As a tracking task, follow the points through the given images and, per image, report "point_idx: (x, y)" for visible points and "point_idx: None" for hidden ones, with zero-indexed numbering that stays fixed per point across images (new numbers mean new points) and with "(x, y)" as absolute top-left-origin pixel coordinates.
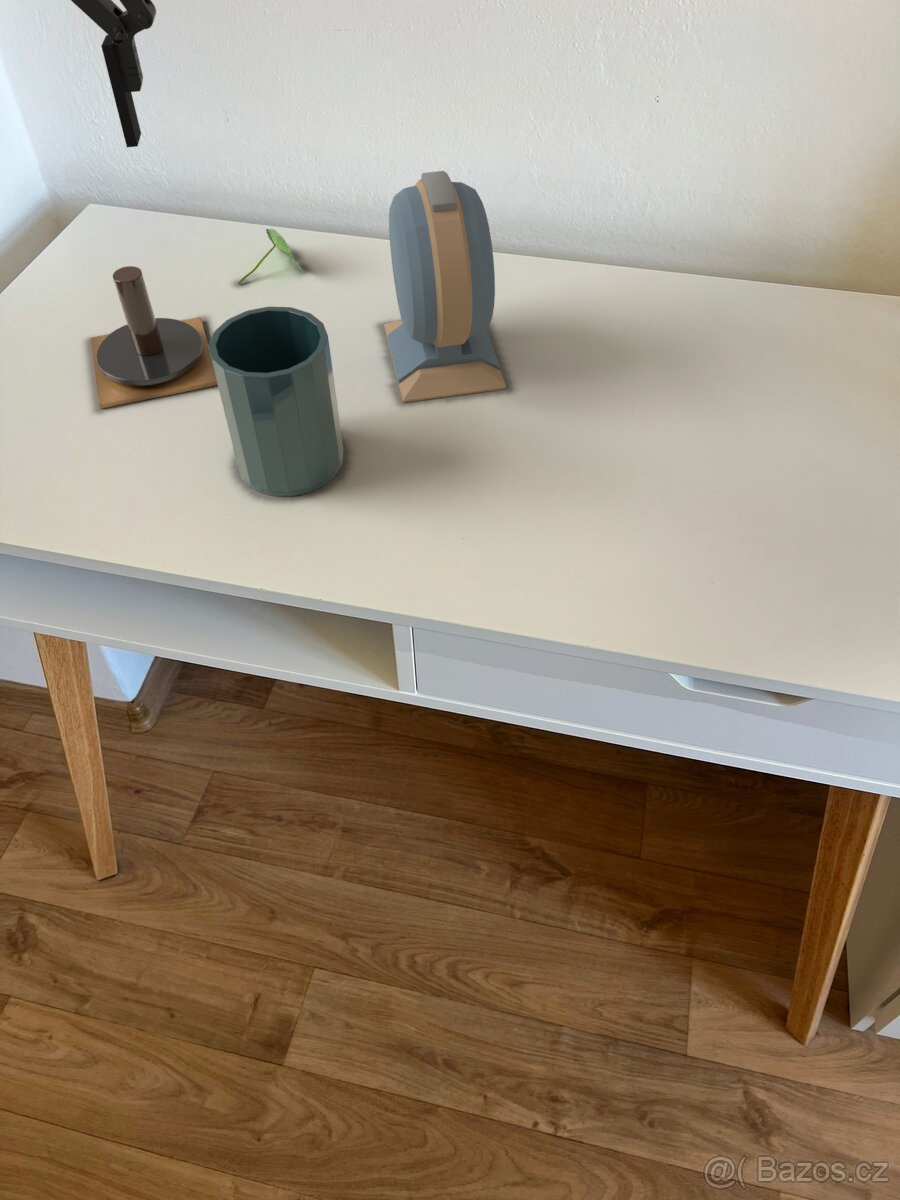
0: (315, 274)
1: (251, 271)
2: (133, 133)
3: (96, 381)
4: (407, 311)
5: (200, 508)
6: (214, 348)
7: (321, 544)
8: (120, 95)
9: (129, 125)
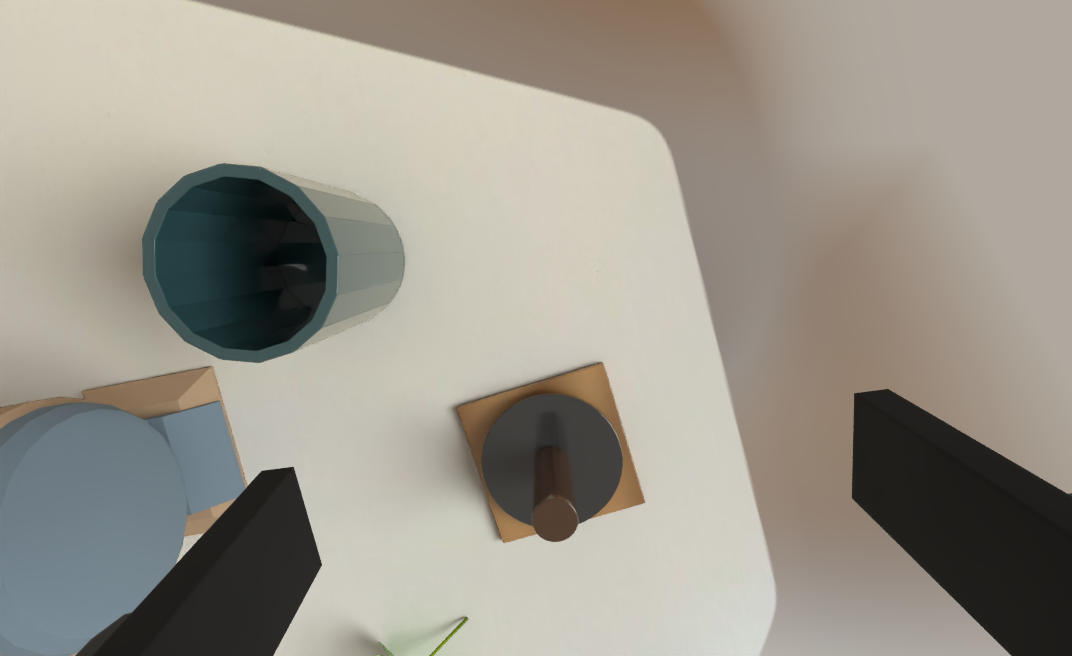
0: (366, 636)
1: (448, 637)
2: (244, 491)
3: (616, 411)
4: (107, 426)
5: (437, 172)
6: (326, 245)
7: (278, 106)
8: (184, 574)
9: (236, 505)
